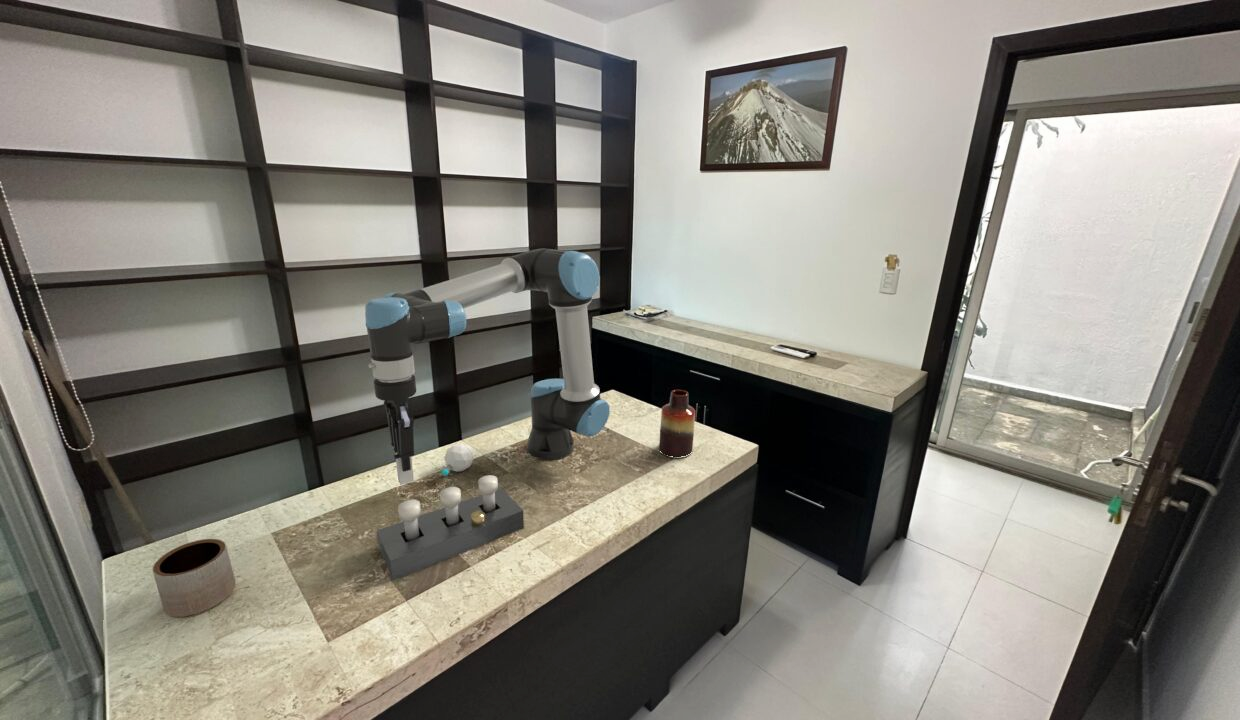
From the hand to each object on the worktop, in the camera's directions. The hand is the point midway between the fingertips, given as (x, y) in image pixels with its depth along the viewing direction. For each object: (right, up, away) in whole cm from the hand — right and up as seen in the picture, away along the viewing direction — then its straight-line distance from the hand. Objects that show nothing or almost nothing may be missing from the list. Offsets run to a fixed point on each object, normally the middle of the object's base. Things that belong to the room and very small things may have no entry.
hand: (406, 481), depth 104 cm
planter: (-37, -21, -8) cm, 43 cm away
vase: (+64, -4, +56) cm, 85 cm away
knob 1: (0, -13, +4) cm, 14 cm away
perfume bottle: (-3, -7, +39) cm, 40 cm away
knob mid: (+7, -12, +9) cm, 17 cm away
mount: (+7, -16, +11) cm, 20 cm away
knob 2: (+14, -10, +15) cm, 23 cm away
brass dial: (+13, -12, +9) cm, 19 cm away
